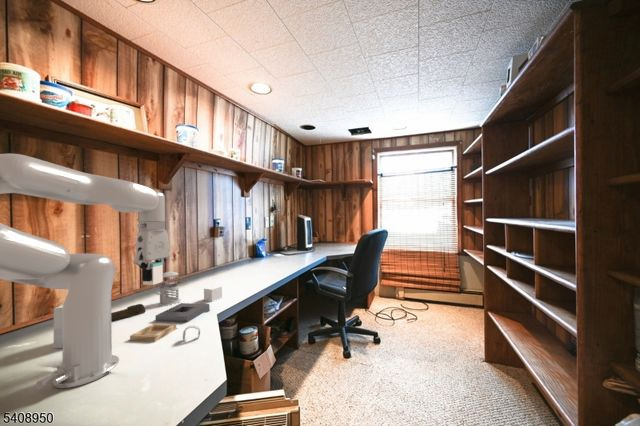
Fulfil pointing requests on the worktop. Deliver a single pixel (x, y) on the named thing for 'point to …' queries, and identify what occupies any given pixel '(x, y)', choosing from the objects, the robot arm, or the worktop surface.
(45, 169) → the robot arm
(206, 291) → the white cube
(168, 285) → the french press
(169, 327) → the wooden square tray
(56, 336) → the small box
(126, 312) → the hand tool
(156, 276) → the plug
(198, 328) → the wristwatch
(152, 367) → the worktop surface
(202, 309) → the port panel
